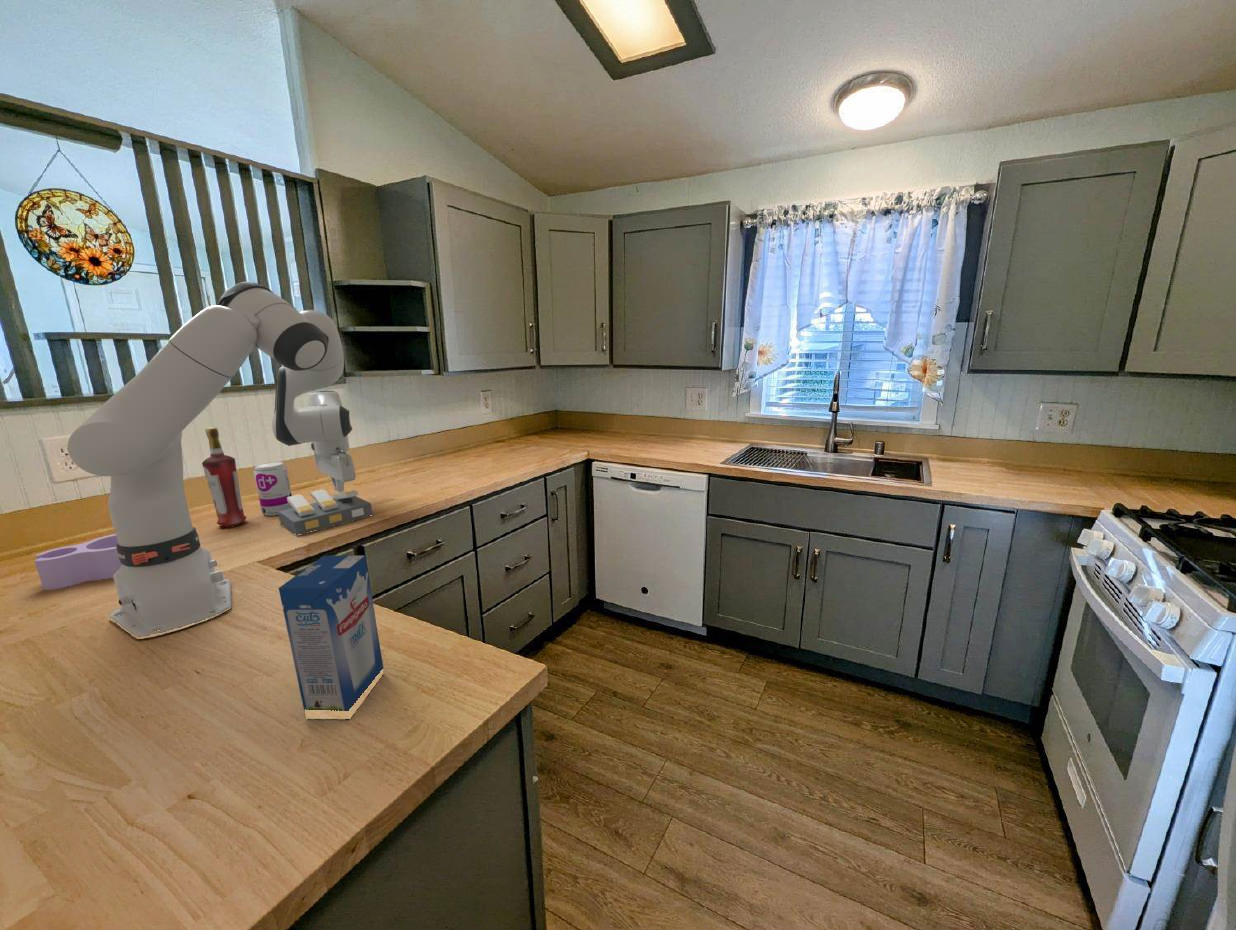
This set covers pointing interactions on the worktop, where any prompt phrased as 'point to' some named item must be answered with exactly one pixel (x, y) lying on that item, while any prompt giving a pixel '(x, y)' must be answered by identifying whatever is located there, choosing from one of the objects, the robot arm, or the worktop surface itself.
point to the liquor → (223, 483)
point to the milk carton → (332, 631)
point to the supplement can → (272, 487)
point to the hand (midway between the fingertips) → (339, 490)
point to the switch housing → (325, 515)
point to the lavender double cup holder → (78, 563)
